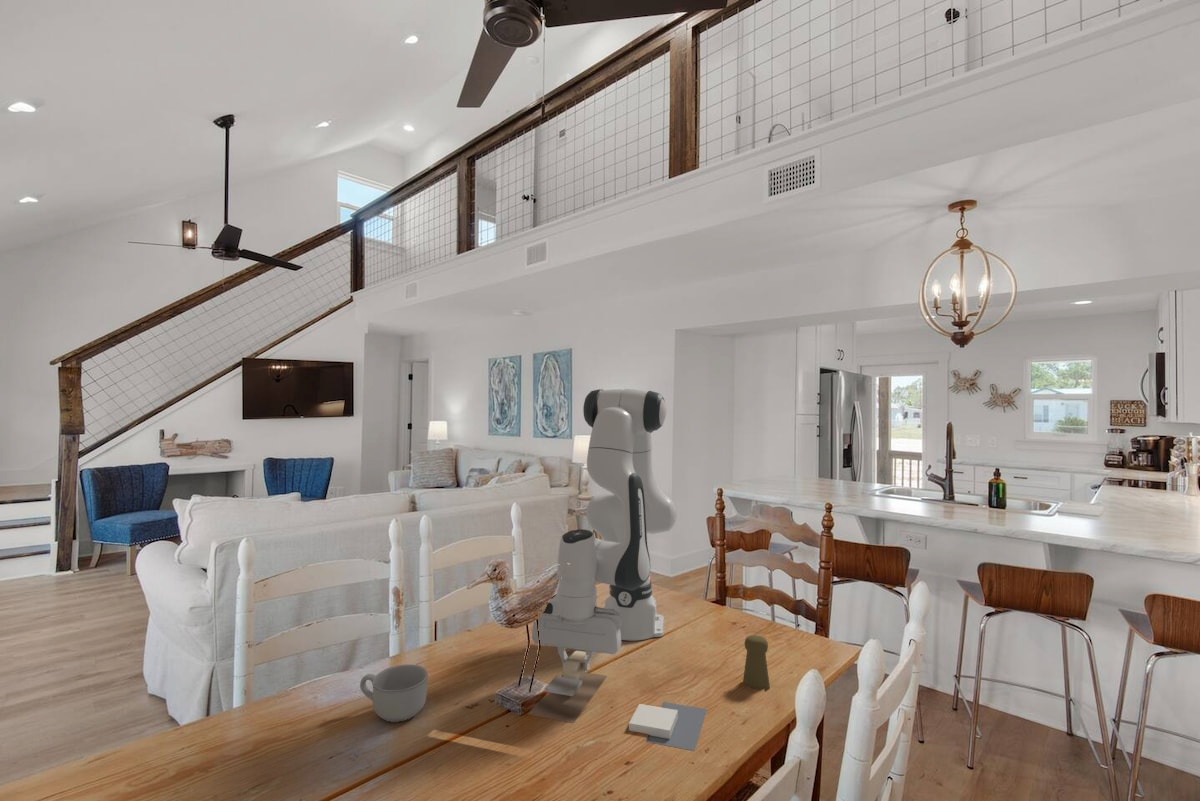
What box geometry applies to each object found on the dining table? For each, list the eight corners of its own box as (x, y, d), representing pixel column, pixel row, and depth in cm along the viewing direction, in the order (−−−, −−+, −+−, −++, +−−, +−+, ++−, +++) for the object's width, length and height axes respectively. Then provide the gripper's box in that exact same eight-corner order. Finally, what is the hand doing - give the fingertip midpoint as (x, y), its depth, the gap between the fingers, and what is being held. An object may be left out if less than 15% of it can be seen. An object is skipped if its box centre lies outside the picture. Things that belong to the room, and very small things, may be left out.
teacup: (437, 707, 123) (438, 668, 123) (404, 733, 113) (405, 691, 113) (383, 695, 128) (383, 658, 128) (346, 720, 117) (347, 680, 118)
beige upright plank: (569, 665, 134) (569, 649, 135) (594, 668, 133) (594, 653, 133) (545, 691, 121) (545, 674, 121) (572, 696, 119) (572, 678, 119)
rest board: (567, 673, 139) (567, 669, 139) (607, 680, 136) (607, 675, 136) (527, 719, 118) (527, 714, 118) (573, 728, 115) (573, 722, 115)
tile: (639, 703, 120) (629, 723, 113) (677, 710, 118) (669, 730, 110) (639, 712, 120) (628, 732, 113) (677, 719, 118) (669, 739, 110)
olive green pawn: (770, 692, 131) (771, 643, 131) (743, 690, 132) (743, 640, 132) (768, 680, 137) (768, 633, 137) (742, 678, 138) (742, 631, 138)
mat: (623, 698, 128) (623, 695, 128) (706, 712, 122) (706, 709, 122) (600, 736, 112) (600, 733, 112) (694, 754, 107) (694, 750, 107)
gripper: (625, 605, 130) (624, 668, 130) (540, 596, 137) (540, 656, 136) (617, 614, 124) (616, 680, 124) (529, 604, 130) (528, 667, 130)
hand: (575, 667), depth 130 cm, fingers closed on beige upright plank, 3 cm apart
